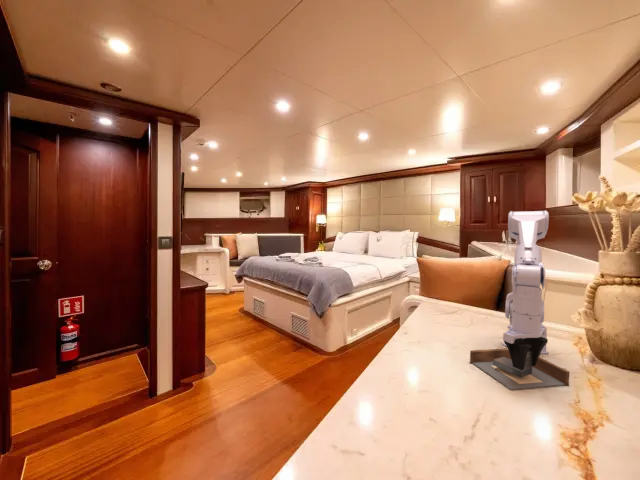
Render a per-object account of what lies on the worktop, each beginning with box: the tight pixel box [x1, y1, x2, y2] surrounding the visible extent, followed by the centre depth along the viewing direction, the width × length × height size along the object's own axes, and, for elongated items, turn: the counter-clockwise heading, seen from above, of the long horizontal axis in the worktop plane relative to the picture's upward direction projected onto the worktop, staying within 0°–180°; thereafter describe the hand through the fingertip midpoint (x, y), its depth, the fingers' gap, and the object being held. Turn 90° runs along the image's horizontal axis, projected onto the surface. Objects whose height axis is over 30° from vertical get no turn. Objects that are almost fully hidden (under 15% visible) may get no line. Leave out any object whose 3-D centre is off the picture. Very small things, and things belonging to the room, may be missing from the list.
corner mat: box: [469, 361, 570, 391], centre depth 73 cm, size 16×14×1 cm
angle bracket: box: [493, 349, 533, 378], centre depth 72 cm, size 7×4×6 cm, turn 24°
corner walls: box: [469, 347, 570, 386], centre depth 73 cm, size 16×14×3 cm
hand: (524, 366), depth 69 cm, fingers closed on angle bracket, 4 cm apart
